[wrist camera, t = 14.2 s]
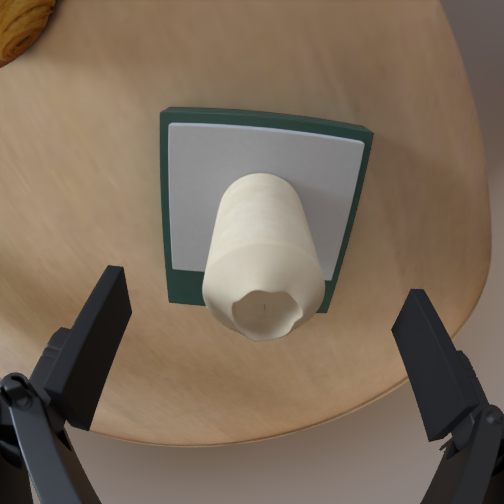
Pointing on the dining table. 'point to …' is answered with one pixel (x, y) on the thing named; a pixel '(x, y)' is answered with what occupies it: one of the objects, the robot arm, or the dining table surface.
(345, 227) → the scale
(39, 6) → the croissant
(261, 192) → the candle
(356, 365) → the dining table surface
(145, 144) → the dining table surface
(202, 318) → the dining table surface
